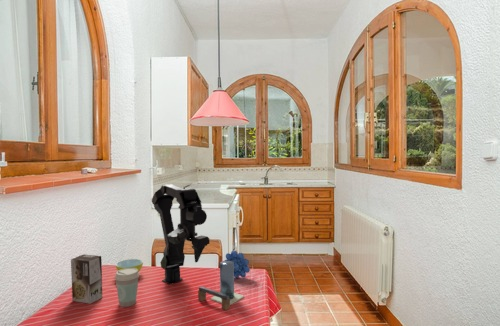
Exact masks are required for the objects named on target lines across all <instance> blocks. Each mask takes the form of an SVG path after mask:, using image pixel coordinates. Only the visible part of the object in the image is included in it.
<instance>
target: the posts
mask: <svg viewBox="0 0 500 326" xmlns="http://www.w3.org/2000/svg"><path fill="white" fill-rule="evenodd" d="M197 294H198V295H197V298H198V299H197V300H198V301H200V302H204V301H205V300H207V293H205V292H202V291H200V290H199V289H198V290H197ZM230 308H231V305H230V298H229V299H228V300H225V299H222V303H221V310H224V311H228V310H230Z"/></svg>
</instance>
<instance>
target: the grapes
mask: <svg viewBox="0 0 500 326" xmlns="http://www.w3.org/2000/svg"><path fill="white" fill-rule="evenodd" d="M224 261H232V262H234V278H240V277H241V278H245V277H246V275H247V274H248V273H250V271H251V269H250V267H249V264H250V261H249V259H247V258H245V255H244V253H242V252H237V250H232V251H231V252H228V253H226V254H225V260H224Z"/></svg>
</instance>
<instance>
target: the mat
mask: <svg viewBox="0 0 500 326" xmlns="http://www.w3.org/2000/svg"><path fill="white" fill-rule="evenodd" d="M244 298H245V296H244V295H242V294H239V293H236V292H234V298H233V299H230V306H231V305H233V304H234V303H236V302H239V301H240V300H242V299H244ZM210 301H214V302H217V303H220V304H222V299H221V298H220V297H217V296H214V295H213V296H212V297H210Z"/></svg>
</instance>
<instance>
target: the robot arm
mask: <svg viewBox="0 0 500 326" xmlns="http://www.w3.org/2000/svg"><path fill="white" fill-rule="evenodd" d="M174 199H175V200H176V201H175V202H177V203H178V204H179V205H178V206H177V207H178V209H179V217H180V220H179V221H180V223H177V228H174V222H173V218H172V213H171V209H172V208H173V205H174V204H173V201H174ZM151 202H152V205H153V207H154V210H155V211H156V212H157V213H158V214H159V218H160V223H161V227H162V233H163V238H164V244H165V247H164V249H163V252H162V253H163V255H162V256H163V257H162V258H161V261H160V262H159V263H160V268H161V269H163V270H164V278H163V279H162V280H161V282H163V283H166V284H169V285H174V284H177V283H178V282H181V281H183V280H184V279H183V277H181V269H180V268H181V267H184V265H185V258H186V257H185V253H184V249H185V243H186V241H187V242H191V245H192V246H190V247H191V248H192V249H193V253H194V255H193V256H194V257H193V258H194V262H195V263H198V262H199V260H200V257H201V256H202V254H203V253H202V252H203V251H204V249H205V247H206V246H208V245H210V237H208V236H207V235H206V236H205V235H199V236H198V232H196V226H200V225H203V224H205V222H206V221H207V216H208V215H207V212H206V211H205V210H204V209H203V206H202V200H201V198H200V197H199V194H198V192H197V190H196V188H182V187H179V186H177V185H175V184H172V183H167V184H162V185H161V187H160V188H159V189H158V190H156V191H155V192H154V193H153V196H152V198H151Z"/></svg>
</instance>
